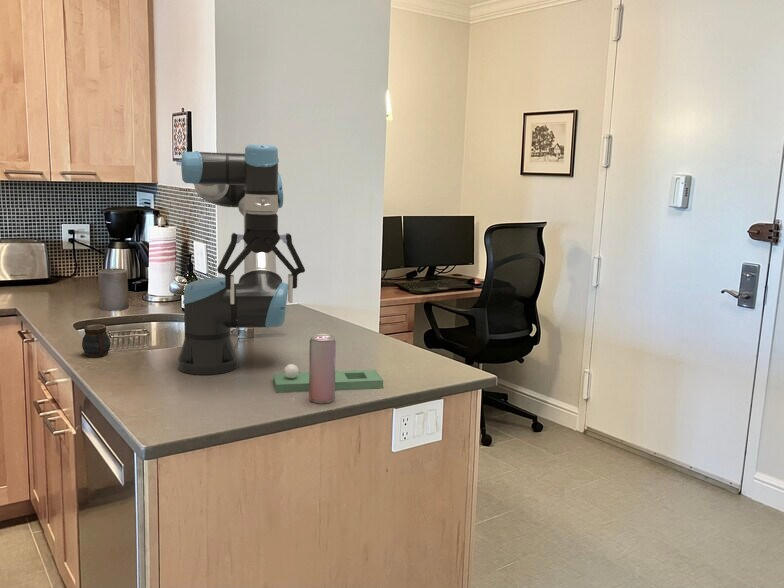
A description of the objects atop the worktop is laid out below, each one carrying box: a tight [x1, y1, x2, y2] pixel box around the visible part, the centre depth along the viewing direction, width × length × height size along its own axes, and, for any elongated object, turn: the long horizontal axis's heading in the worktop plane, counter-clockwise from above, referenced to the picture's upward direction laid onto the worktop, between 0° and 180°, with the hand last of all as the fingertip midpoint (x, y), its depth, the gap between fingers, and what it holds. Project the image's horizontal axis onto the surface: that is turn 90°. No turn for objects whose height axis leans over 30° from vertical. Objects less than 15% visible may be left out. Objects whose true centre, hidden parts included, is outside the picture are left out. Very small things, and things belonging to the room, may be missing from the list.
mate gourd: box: [79, 321, 111, 358], centre depth 191 cm, size 7×8×10 cm
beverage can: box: [308, 333, 337, 405], centre depth 161 cm, size 6×6×15 cm
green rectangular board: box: [272, 369, 384, 394], centre depth 173 cm, size 26×9×2 cm, turn 104°
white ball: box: [283, 363, 300, 379], centre depth 171 cm, size 4×4×4 cm
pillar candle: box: [97, 267, 130, 312], centre depth 250 cm, size 10×10×15 cm
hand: (261, 302), depth 166 cm, fingers open, 13 cm apart
